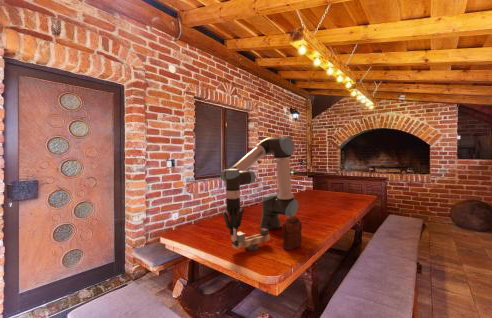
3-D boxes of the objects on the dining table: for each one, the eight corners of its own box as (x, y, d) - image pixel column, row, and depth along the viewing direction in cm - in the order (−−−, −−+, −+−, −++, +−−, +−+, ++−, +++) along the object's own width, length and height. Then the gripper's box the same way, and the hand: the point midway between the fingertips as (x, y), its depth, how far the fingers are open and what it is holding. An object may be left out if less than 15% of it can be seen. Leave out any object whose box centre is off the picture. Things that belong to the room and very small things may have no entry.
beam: (237, 255, 136) (237, 238, 136) (231, 251, 141) (231, 235, 141) (270, 245, 149) (270, 230, 149) (264, 242, 154) (263, 227, 154)
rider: (239, 244, 137) (238, 235, 137) (234, 241, 142) (234, 232, 141) (245, 243, 140) (245, 233, 139) (240, 240, 144) (240, 231, 143)
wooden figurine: (295, 243, 152) (295, 213, 151) (302, 246, 147) (302, 216, 146) (280, 247, 146) (280, 216, 145) (287, 251, 141) (287, 219, 140)
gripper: (226, 200, 130) (226, 245, 132) (246, 197, 138) (247, 239, 139) (219, 197, 136) (220, 240, 138) (239, 195, 144) (240, 235, 145)
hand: (233, 240), depth 138 cm, fingers closed
